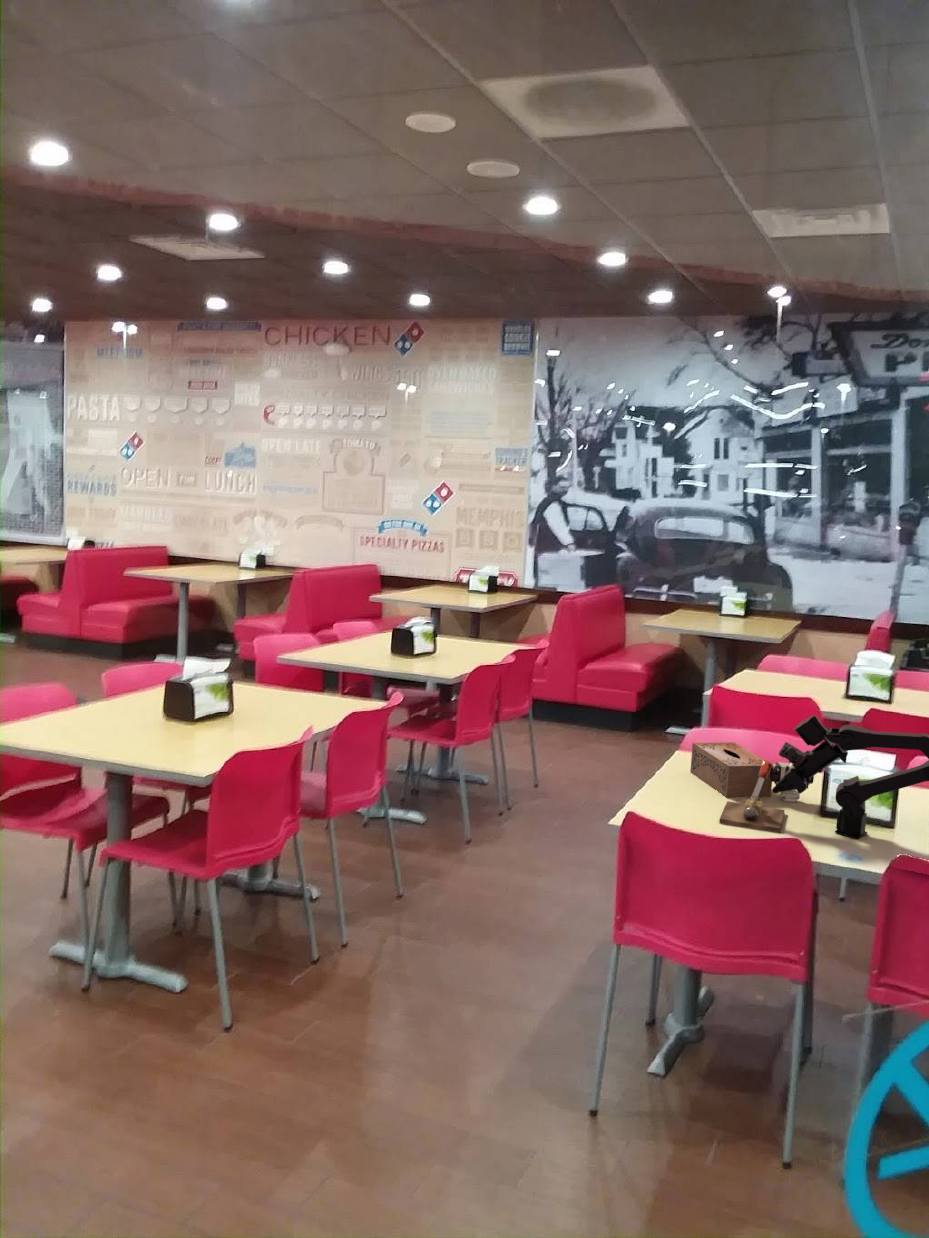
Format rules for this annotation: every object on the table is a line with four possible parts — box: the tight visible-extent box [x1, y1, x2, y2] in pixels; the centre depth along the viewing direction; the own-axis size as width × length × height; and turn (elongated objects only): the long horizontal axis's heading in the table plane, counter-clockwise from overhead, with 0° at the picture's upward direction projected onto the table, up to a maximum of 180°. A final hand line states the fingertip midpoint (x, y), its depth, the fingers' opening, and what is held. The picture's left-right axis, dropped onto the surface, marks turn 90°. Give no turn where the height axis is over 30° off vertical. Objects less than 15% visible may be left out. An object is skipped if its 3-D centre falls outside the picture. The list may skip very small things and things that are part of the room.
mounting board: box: [718, 801, 785, 833], centre depth 287 cm, size 16×17×1 cm
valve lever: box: [749, 759, 774, 801], centre depth 285 cm, size 3×3×12 cm
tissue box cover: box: [689, 741, 774, 799], centre depth 318 cm, size 26×14×10 cm, turn 12°
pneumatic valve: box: [770, 761, 815, 803], centre depth 304 cm, size 6×12×12 cm, turn 87°
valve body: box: [743, 797, 763, 821], centre depth 287 cm, size 4×12×6 cm, turn 159°
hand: (773, 791), depth 284 cm, fingers closed
